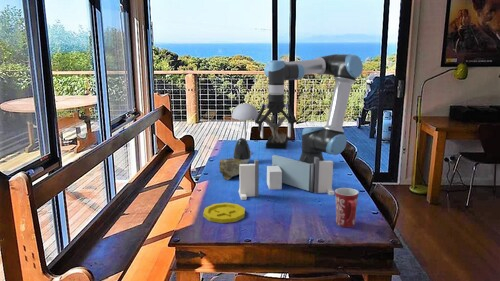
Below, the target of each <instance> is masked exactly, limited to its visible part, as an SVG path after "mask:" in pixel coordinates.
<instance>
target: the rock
mask: <svg viewBox="0 0 500 281" xmlns="http://www.w3.org/2000/svg"><path fill="white" fill-rule="evenodd" d="M240 164H247V163H246V162H241V160H239V159H234V158H232V157H230V158H223V159H220V160H219V165H218V166H219V167H218V168H219V173H221V174H222V177H223V179H224V180H226V181H229V180H231V179H232V178H233V177H236V176H238V175H240Z"/></svg>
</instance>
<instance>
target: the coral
mask: <svg viewBox="0 0 500 281" xmlns="http://www.w3.org/2000/svg"><path fill="white" fill-rule="evenodd" d="M264 115H265V114H262V115H261V117H260V119H259V120H261V118H262V117H263V116H264ZM274 120H275V115H271V116H270V117H269V116H268V117H267V118H266V119H265V121H264V122H263V123H265V124H267V125H268V127H269V128H270V130H271V136H268V139H267V141H266V143H265V149H273V150H274V149H275V150H286V149H287V147H288V144H289V137H288V136H287V134H286V133H284V132H282V131H281V132H280V133H279V132H278V129H279V128H280V127H281V126H282V124H283V122H284V121H285V120H286V118H285V116H282V117H278V121H277V123H275V122H274Z"/></svg>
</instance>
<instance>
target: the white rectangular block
mask: <svg viewBox="0 0 500 281" xmlns="http://www.w3.org/2000/svg"><path fill="white" fill-rule="evenodd" d="M266 184H267V187H268V190H282V189H283V187H282V186H283V183H282V171H281V169H280V167H279V166H272V165H267V166H266Z"/></svg>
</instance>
